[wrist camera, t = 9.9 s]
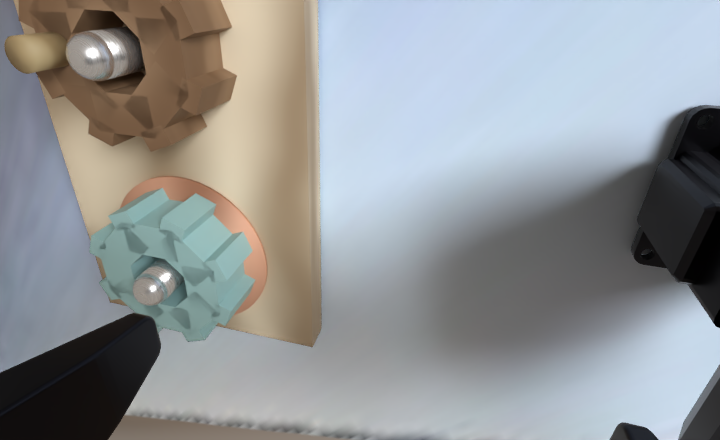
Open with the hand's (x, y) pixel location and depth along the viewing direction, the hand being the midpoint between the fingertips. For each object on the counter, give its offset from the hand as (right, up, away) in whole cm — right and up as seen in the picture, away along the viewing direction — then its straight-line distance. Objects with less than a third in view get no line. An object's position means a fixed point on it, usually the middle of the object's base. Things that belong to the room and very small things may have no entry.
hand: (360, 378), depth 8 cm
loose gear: (-9, +1, +14) cm, 17 cm away
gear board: (-8, +6, +13) cm, 17 cm away
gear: (-8, +10, +9) cm, 16 cm away
